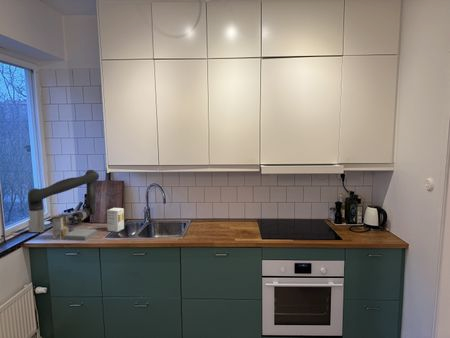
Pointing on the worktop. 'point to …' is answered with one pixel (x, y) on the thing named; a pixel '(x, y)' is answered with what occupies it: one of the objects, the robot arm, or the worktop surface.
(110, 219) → the supplement box
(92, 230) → the podium
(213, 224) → the worktop surface
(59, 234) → the coffee box
